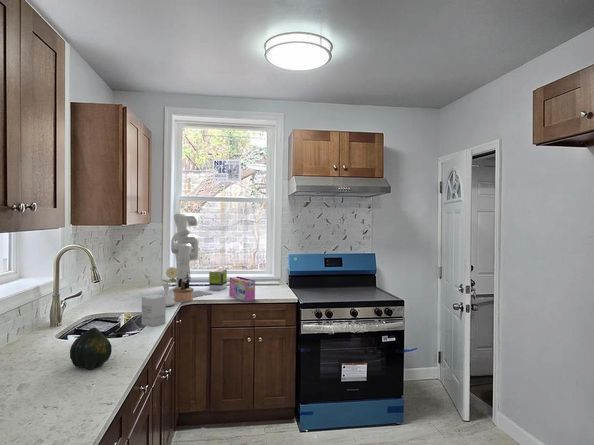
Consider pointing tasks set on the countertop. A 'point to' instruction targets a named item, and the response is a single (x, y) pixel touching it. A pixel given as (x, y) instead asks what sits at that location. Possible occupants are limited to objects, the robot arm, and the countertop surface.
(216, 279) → the tea box
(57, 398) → the countertop surface
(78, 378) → the countertop surface
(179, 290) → the lid
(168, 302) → the flower in vase
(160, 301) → the grey canister
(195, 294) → the mat
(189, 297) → the bowl
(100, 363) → the squash
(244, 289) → the gum box
